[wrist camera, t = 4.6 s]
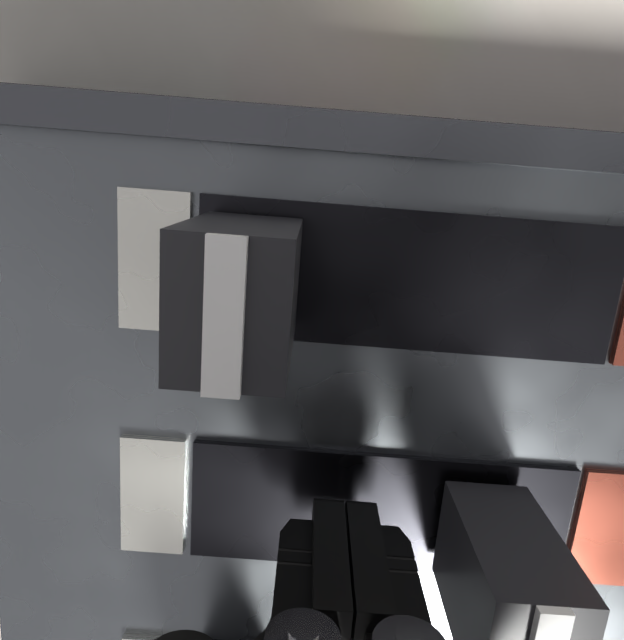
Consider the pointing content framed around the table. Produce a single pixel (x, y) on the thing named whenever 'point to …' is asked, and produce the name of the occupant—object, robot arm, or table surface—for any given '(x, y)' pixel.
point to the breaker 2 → (510, 570)
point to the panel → (295, 349)
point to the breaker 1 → (228, 304)
